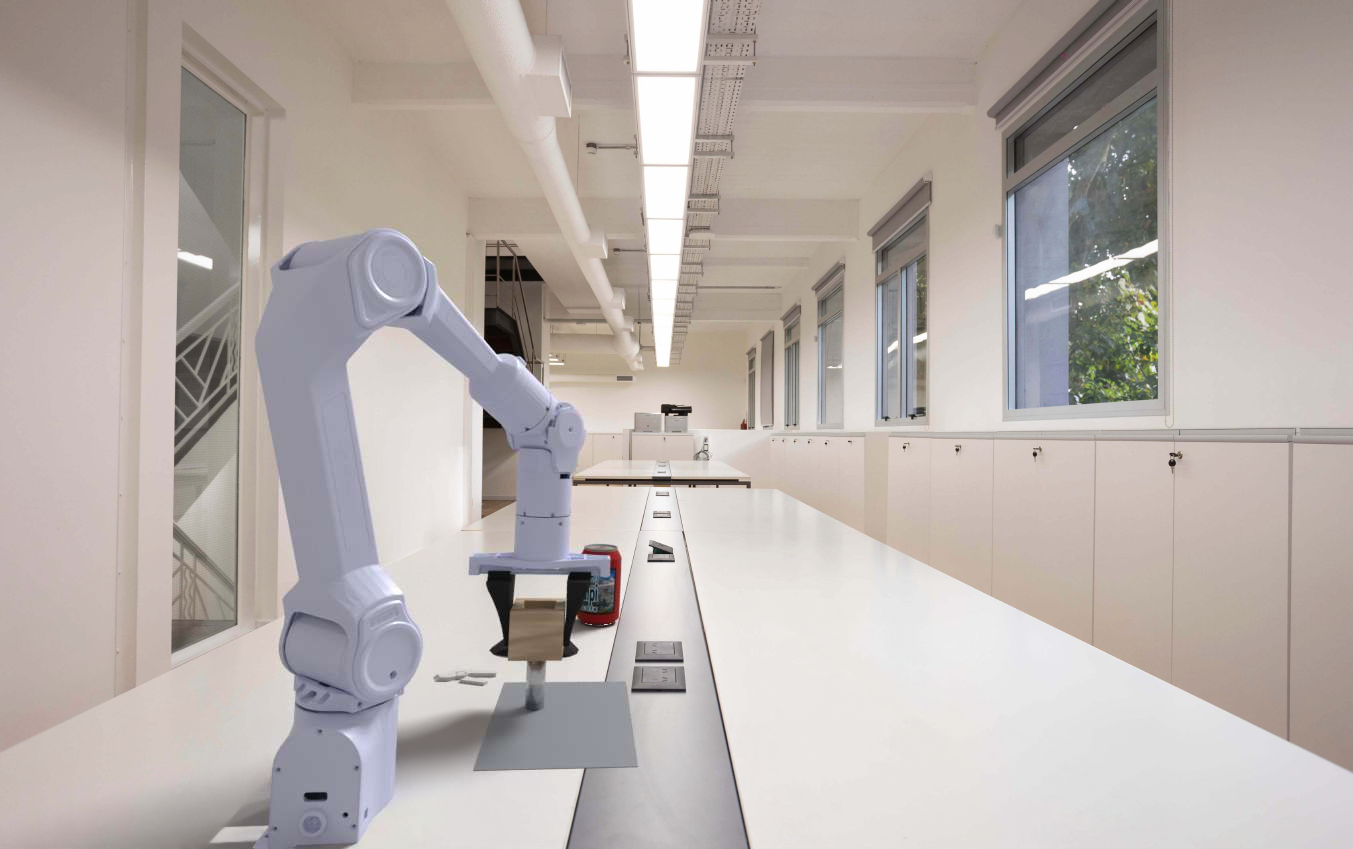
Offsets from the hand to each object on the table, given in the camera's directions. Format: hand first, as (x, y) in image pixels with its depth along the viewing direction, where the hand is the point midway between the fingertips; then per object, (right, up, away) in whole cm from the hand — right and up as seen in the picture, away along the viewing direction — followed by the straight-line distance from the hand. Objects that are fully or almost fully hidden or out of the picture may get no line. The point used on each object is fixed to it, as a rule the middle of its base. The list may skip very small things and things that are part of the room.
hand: (537, 643), depth 69 cm
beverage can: (+2, -9, +35) cm, 37 cm away
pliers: (-14, -8, +8) cm, 18 cm away
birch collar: (0, -1, 0) cm, 1 cm away
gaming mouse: (-6, -8, +18) cm, 21 cm away
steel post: (0, -7, 0) cm, 7 cm away
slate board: (+3, -8, -3) cm, 9 cm away
